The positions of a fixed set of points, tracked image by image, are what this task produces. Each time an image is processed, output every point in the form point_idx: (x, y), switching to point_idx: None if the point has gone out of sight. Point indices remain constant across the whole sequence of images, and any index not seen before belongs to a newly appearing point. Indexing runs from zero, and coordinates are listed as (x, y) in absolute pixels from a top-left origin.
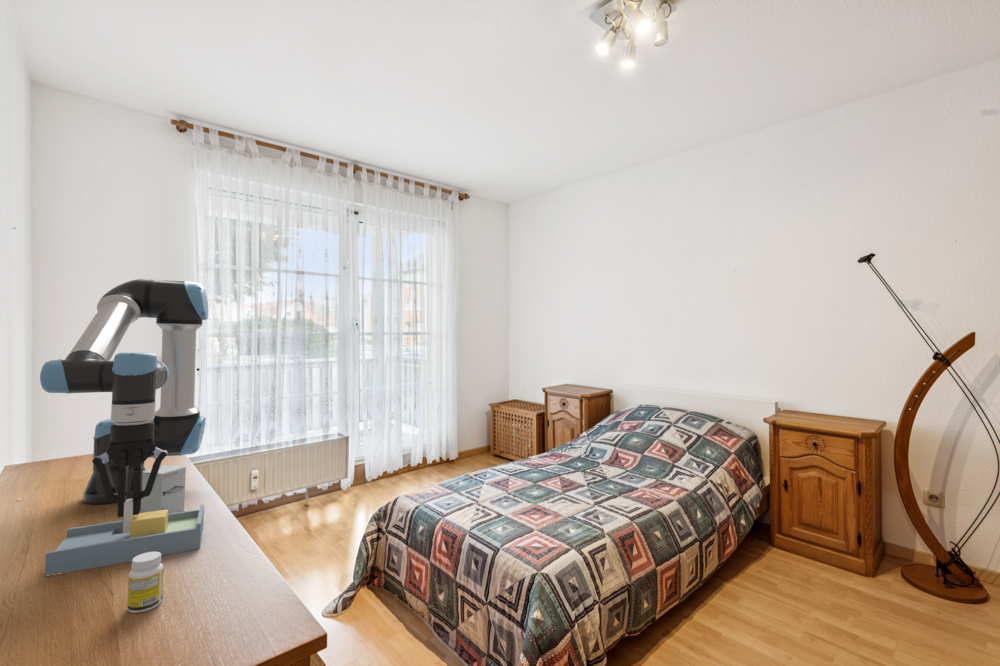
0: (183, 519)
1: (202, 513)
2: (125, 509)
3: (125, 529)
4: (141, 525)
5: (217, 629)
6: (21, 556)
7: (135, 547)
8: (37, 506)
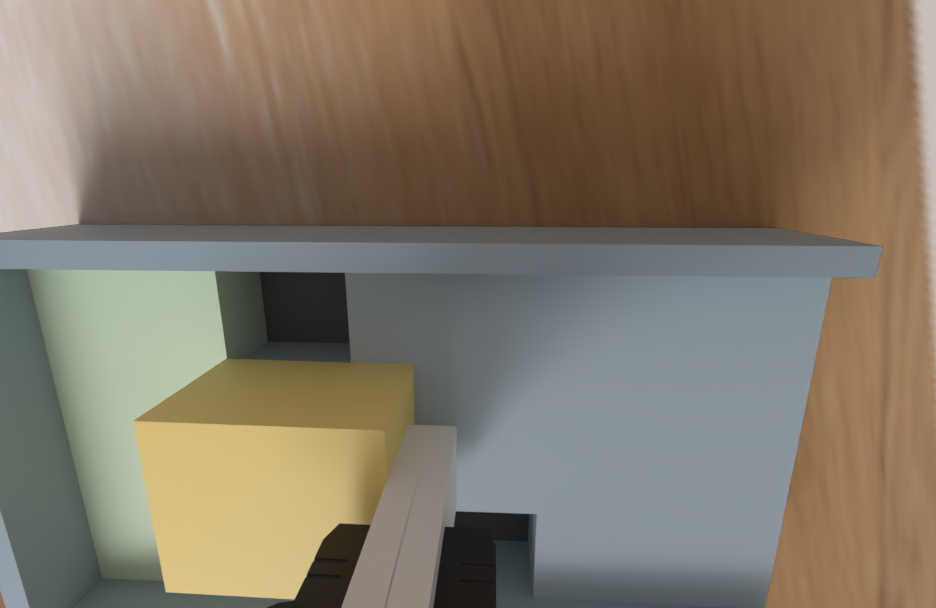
0: None
1: None
2: (421, 562)
3: (439, 439)
4: (323, 403)
5: None
6: (900, 572)
7: (360, 233)
8: None
